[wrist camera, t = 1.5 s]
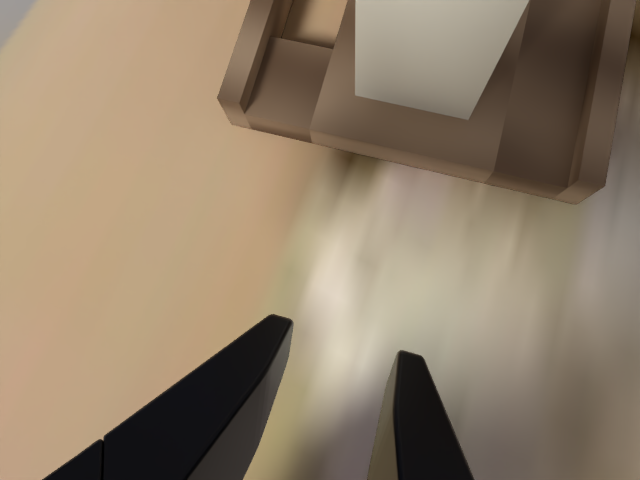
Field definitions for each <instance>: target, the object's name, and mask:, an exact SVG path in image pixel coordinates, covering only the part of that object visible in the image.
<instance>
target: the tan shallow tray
mask: <svg viewBox="0 0 640 480" xmlns="http://www.w3.org/2000/svg"><path fill="white" fill-rule="evenodd" d="M292 2H293V0H251V1H250V4H249V7H248V10H247V13H246V16H245V19H244V21H243V24H242V27H241V30H240V33H239V36H238V39H237V42H236V45H235V48H234V51H233V53H232V56H231V59H230V62H229V65H228V68H227V71H226V74H225V77H224V80H223V83H222V85H221V88H220V91H219V94H218V97H217V99H218V101H219V103H220V104H221V106H222V108H223V110H224V112H225V114H226V115H227V117H228V119H229V121H230V123H231V124H232V125H236V126H241V127H245V128H249V129H253V130H258V131H262V132H266V133H271V134H275V135H279V136H284V137H288V138H292V139H296V140H301V141H305V142H309V143H314V144H318V145H322V146H327V147H331V148H335V149H340V150H344V151H348V152H352V153H357V154H361V155H365V156H370V157H374V158H378V159H383V160H387V161H391V162H395V163H400V164H404V165H408V166H413V167H417V168H421V169H426V170H430V171H434V172H438V173H443V174H447V175H451V176H456V177H460V178H464V179H469V180H473V181H477V182H481V183H486V184H490V185H494V186H499V187H503V188H507V189H512V190H516V191H520V192H525V193H529V194H533V195H537V196H542V197H546V198H550V199H555V200H559V201H563V202H568V203H572V204H578V203H579V202H581V201H582V200H584V199H585V198H587V197H589V196H590V195H592V194H593V193H595V192H596V191H598V190H600V189H601V188H603V187H604V186H605V183H606V177H607V171H608V165H609V159H610V153H611V147H612V141H613V135H614V129H615V123H616V117H617V111H618V106H619V100H620V94H621V88H622V82H623V76H624V70H625V64H626V58H627V52H628V46H629V40H630V34H631V28H632V23H633V17H634V11H635V5H636V0H529V2H528V4H527V6H526V8H525V10H524V12H523V14H522V15H521V17H520V19H519V21H518V23H517V25H516V27H515V29H514V31H513V33H512V35H511V37H510V39H509V41H508V43H507V45H506V47H505V49H504V51H503V53H502V55H501V57H500V59H499V61H498V63H497V65H496V67H495V69H494V71H493V73H492V75H491V76H490V78H489V80H488V82H487V84H486V86H485V88H484V90H483V92H482V94H481V96H480V98H479V100H478V102H477V104H476V106H475V108H474V110H473V112H472V114H471V116H470V118H469V120H466V119H461V118H457V117H452V116H447V115H443V114H438V113H434V112H429V111H424V110H420V109H415V108H411V107H406V106H401V105H397V104H392V103H388V102H383V101H378V100H374V99H369V98H365V97H360V96H356V95H355V2H356V0H348V2H347V5H346V8H345V12H344V15H343V18H342V22H341V25H340V28H339V32H338V35H337V38H336V42H335V45H334V48H333V49H330V48H325V47H321V46H316V45H311V44H306V43H301V42H296V41H292V40H287V39H282V38H281V36H282V33H283V30H284V27H285V24H286V20H287V17H288V14H289V11H290V8H291V5H292Z"/></svg>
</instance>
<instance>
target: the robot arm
mask: <svg viewBox="0 0 640 480" xmlns="http://www.w3.org/2000/svg"><path fill="white" fill-rule="evenodd" d="M292 332H293V321H292V320H291V319H289V318H286V317H282V316H278V315H275V314H271V315H269V316H267V317H266V318H264V319H263V320H262V321H260V322H259V323H257V324H256V325H255V326H253V327H252V328H251V329H249V330H248V331H247V332H245V333H244V334H242V335H241V336H240V337H238V338H237V339H236V340H234V341H233V342H232V343H230V344H229V345H227V346H226V347H225V348H223V349H222V350H221V351H219V352H218V353H216V354H215V355H214V356H212V357H211V358H210V359H208V360H207V361H206V362H204V363H203V364H201V365H200V366H199V367H197V368H196V369H195V370H193V371H192V372H191V373H189V374H188V375H186V376H185V377H184V378H182V379H181V380H180V381H178V382H177V383H175V384H174V385H173V386H171V387H170V388H169V389H167V390H166V391H165V392H163V393H162V394H160V395H159V396H158V397H156V398H155V399H154V400H152V401H151V402H150V403H148V404H147V405H145V406H144V407H143V408H141V409H140V410H139V411H137V412H136V413H135V414H133V415H132V416H130V417H129V418H128V419H126V420H125V421H124V422H122V423H121V424H119V425H118V426H117V427H115V428H114V429H113V430H111V431H110V432H109V433H107V434H106V435H105V436H104V439H103V440H102V439H99V440H97V441H96V442H94V443H93V444H92V445H90V446H89V447H88V448H86V449H85V450H84V451H82V452H81V453H79V454H78V455H77V456H75V457H74V458H72V459H71V460H70V461H68V462H67V463H65V464H64V465H62V466H61V467H60V468H58V469H57V470H55V471H54V472H52V473H51V474H49V475H48V476H47V477H45V478H44V479H42V480H243V478H244V476H245V474H246V472H247V470H248V467H249V465H250V463H251V461H252V459H253V457H254V455H255V452H256V450H257V448H258V446H259V443H260V440H261V438H262V435H263V432H264V429H265V426H266V423H267V420H268V417H269V415H270V412H271V409H272V406H273V403H274V400H275V397H276V394H277V391H278V388H279V385H280V382H281V379H282V376H283V373H284V370H285V367H286V364H287V361H288V357H289V352H290V345H291V339H292ZM367 480H474V478H473V475H472V473H471V470H470V468H469V466H468V463H467V461H466V458H465V456H464V454H463V451H462V449H461V446H460V444H459V442H458V439H457V437H456V434H455V432H454V430H453V427H452V425H451V422H450V420H449V418H448V415H447V413H446V410H445V408H444V405H443V403H442V401H441V398H440V396H439V393H438V391H437V389H436V386H435V384H434V381H433V379H432V377H431V374H430V372H429V369H428V367H427V365H426V362H425V360H424V358H423V357H422V356H420V355H418V354H414V353H410V352H407V351H403V350H401V351H399V352H398V353H397V355H396V358H395V361H394V364H393V367H392V370H391V373H390V376H389V379H388V382H387V385H386V389H385V393H384V398H383V402H382V407H381V412H380V417H379V422H378V427H377V432H376V437H375V442H374V447H373V452H372V457H371V461H370V467H369V472H368V478H367Z"/></svg>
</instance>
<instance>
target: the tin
mask: <svg viewBox="0 0 640 480" xmlns="http://www.w3.org/2000/svg"><path fill="white" fill-rule="evenodd" d="M528 2H529V0H356V2H355V95H356V96H360V97H365V98H369V99H374V100H378V101H383V102H388V103H392V104H397V105H401V106H406V107H411V108H415V109H420V110H424V111H429V112H434V113H438V114H443V115H447V116H452V117H457V118H461V119H466V120H469V118H470V116H471V114H472V112H473V110H474V108H475V106H476V104H477V102H478V100H479V98H480V96H481V94H482V92H483V90H484V88H485V86H486V84H487V82H488V80H489V78H490V76H491V75H492V73H493V71H494V69H495V67H496V65H497V63H498V61H499V59H500V57H501V55H502V53H503V51H504V49H505V47H506V45H507V43H508V41H509V39H510V37H511V35H512V33H513V31H514V29H515V27H516V25H517V23H518V21H519V19H520V17H521V15H522V14H523V12H524V10H525V8H526V6H527V4H528Z"/></svg>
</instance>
